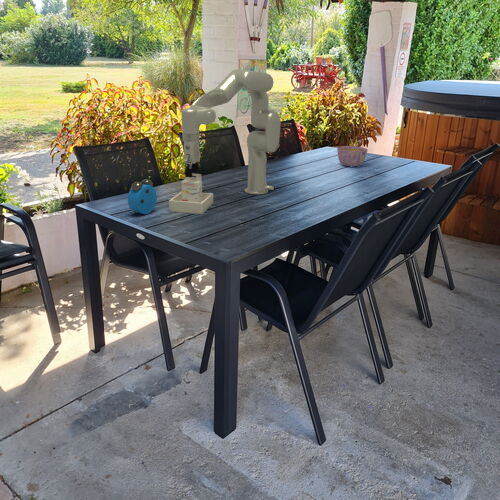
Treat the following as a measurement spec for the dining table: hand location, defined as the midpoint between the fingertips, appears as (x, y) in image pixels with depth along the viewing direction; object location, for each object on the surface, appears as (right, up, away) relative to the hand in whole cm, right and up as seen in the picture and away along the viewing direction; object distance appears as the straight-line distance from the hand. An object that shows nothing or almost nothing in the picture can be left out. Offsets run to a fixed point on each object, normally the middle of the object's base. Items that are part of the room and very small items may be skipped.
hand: (192, 174), depth 230 cm
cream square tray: (-1, -15, +5) cm, 16 cm away
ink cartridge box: (-1, -14, +5) cm, 15 cm away
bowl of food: (+94, +21, +103) cm, 141 cm away
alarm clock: (-21, -18, -5) cm, 29 cm away
